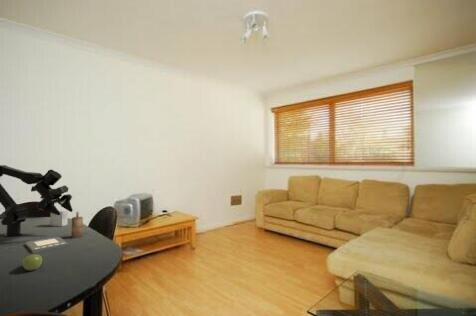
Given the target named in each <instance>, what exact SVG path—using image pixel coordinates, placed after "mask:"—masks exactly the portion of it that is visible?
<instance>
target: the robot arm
mask: <svg viewBox="0 0 476 316" xmlns="http://www.w3.org/2000/svg"><path fill="white" fill-rule="evenodd" d="M4 175H6V176H9V177H12V178H16V179H18V180H20V181H21V182H22V183H24V184H27V185H32V186H31V188H30V189H31V190H30V192H37V193H38V194H39V195H40V199H41V200H40V201H39V202H37V204H36V208H37V210H39V211H40V210H41V211H45V212H48V213H50V214H51V213H53V214H56V215H60V212H59V211H60V210H59V209H58V208H57V207H56V206H55V204H58V205H59V206H60V207H61V208H63V209H65V210H66V211H67V212H70V213H72V212H73V211H74V210H73V207H72V205H71V201H72V199H73V196H72V195H71V194H69V193H68V191H69V187H68V186H66V185H62V186H59V187H57V188H52V187H51V186H54V185H55V184H56V183H57V182H58V181H60V179H62V174H61V173H59V172H58V171H55V170H54V169H48V171H47V172H46V173H45V174H44V175H43V174H42V173H40V172H33V171H32V172H31V171H24V170H21V169H18V168H14V167H10V166H8V165H6V164H5V165H4V164H3V165H2V164H0V178H1V177H3V176H4ZM33 185H34V186H33ZM65 193H67V194H65ZM0 205H2V207H3V208H4V215H5V217H4V218H3V219H1V221H0V222H1V225H2V226H6V230H5V231H6V233H5V234H4V236H5V237H6V238H11V237H16V236H22V235H23V233H22V231H21V230H22V223H24V222H25V221H26V219H27V218H28V215H29V211H28V208H27V207H26V206H25V204H23V203H20V204H18V203H17V202H16V201H15V200H14V199H13V197H12V196H11V195H10V194H9V192H8V191H7V190H6V189H5V187H4V186H3V184H1V183H0ZM10 236H11V237H10Z"/></svg>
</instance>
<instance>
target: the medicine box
mask: <svg viewBox="0 0 476 316" xmlns="http://www.w3.org/2000/svg"><path fill="white" fill-rule="evenodd" d="M58 211H59V212H60V215H56V214H53V213H50V217H49V219H50V220H49V222H50V225H49V226H50V227H64V226H67V225H68V210H58Z"/></svg>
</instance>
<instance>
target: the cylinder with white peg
mask: <svg viewBox="0 0 476 316" xmlns="http://www.w3.org/2000/svg"><path fill="white" fill-rule="evenodd" d="M79 215H80V212H79V211H76V214H75V216H73V217H71V236H70V237H71V239H78V238H82V237H83V223H84V220H83V219H84V218H83V216H79Z"/></svg>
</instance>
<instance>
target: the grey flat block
mask: <svg viewBox="0 0 476 316" xmlns="http://www.w3.org/2000/svg"><path fill="white" fill-rule="evenodd" d="M25 245H26V246H27V248H28V249H29V250H30V251H31V253H33V254H34V253H41V252H45V251H50V250H56V249H59V248H65V247H68V246H69V243H68V242H67V241H65V240H64V239H63V238H62V237H60V236H53V237H48V238H43V239H37V240H30V241H26V242H25Z"/></svg>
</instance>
